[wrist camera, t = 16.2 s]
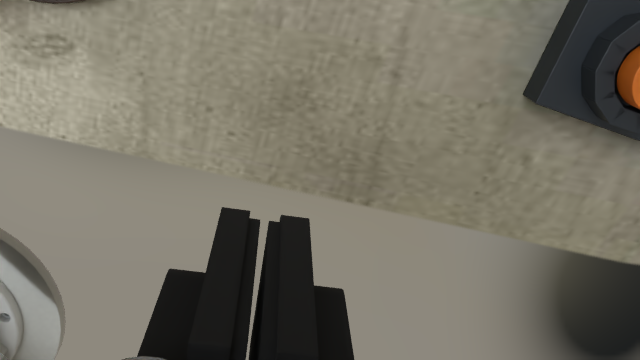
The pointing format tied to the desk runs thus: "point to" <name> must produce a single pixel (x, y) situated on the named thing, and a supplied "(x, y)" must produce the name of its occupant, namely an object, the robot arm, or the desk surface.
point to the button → (630, 78)
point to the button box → (590, 64)
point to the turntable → (57, 1)
